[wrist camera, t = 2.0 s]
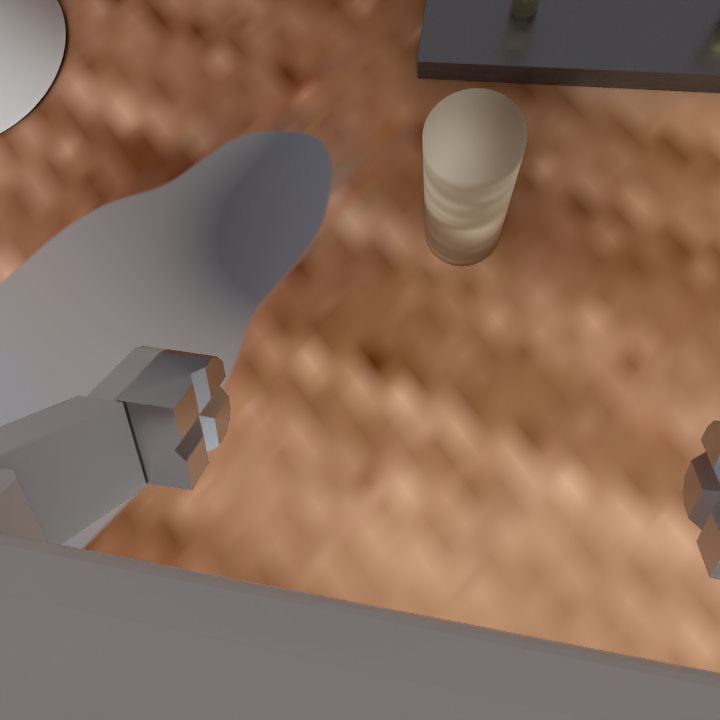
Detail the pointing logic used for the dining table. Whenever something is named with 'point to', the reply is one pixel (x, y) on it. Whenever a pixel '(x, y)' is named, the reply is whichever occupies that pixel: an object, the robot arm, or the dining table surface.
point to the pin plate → (574, 43)
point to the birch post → (470, 172)
